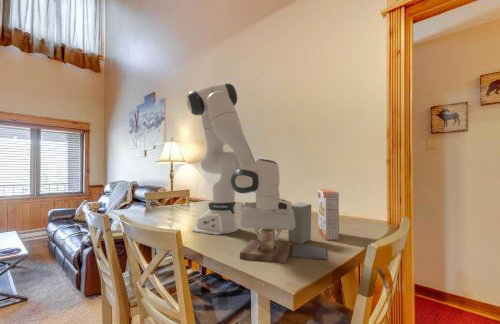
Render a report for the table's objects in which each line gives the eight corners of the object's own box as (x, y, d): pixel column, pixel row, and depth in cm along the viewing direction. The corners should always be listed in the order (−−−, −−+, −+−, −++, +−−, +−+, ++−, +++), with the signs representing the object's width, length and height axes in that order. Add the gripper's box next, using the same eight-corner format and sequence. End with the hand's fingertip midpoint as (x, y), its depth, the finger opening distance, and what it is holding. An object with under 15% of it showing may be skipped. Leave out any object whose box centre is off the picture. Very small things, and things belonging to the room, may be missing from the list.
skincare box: (298, 237, 111) (298, 202, 112) (312, 240, 106) (312, 203, 107) (287, 241, 105) (287, 203, 106) (301, 245, 100) (301, 205, 101)
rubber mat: (291, 256, 87) (291, 255, 87) (293, 246, 99) (293, 244, 99) (327, 260, 84) (327, 258, 84) (325, 248, 96) (325, 247, 96)
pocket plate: (239, 258, 85) (239, 252, 85) (251, 244, 101) (251, 239, 101) (286, 263, 81) (286, 256, 81) (290, 247, 97) (290, 242, 97)
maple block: (260, 252, 90) (260, 231, 90) (262, 248, 94) (262, 228, 94) (272, 253, 89) (272, 231, 89) (274, 248, 93) (274, 228, 93)
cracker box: (317, 232, 121) (317, 188, 121) (330, 232, 120) (329, 189, 121) (325, 240, 107) (325, 191, 107) (339, 240, 106) (339, 191, 107)
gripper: (238, 203, 91) (238, 241, 91) (294, 205, 86) (294, 245, 86) (242, 200, 97) (242, 236, 97) (295, 202, 92) (295, 239, 92)
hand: (267, 240), depth 91 cm, fingers closed on maple block, 4 cm apart
